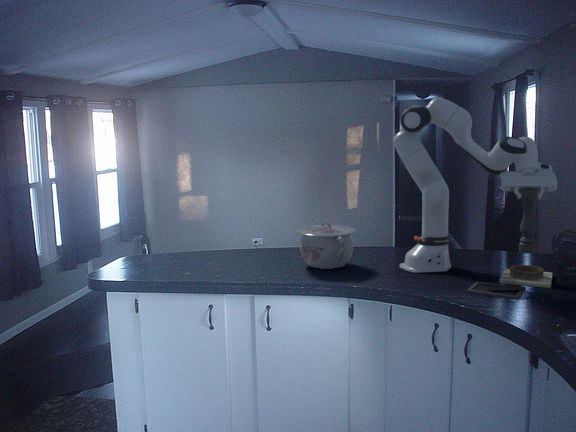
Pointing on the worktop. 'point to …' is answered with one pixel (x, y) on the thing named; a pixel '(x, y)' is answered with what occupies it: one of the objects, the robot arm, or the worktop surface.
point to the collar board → (526, 276)
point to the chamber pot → (326, 245)
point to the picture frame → (497, 290)
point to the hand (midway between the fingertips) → (529, 198)
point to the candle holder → (528, 222)
